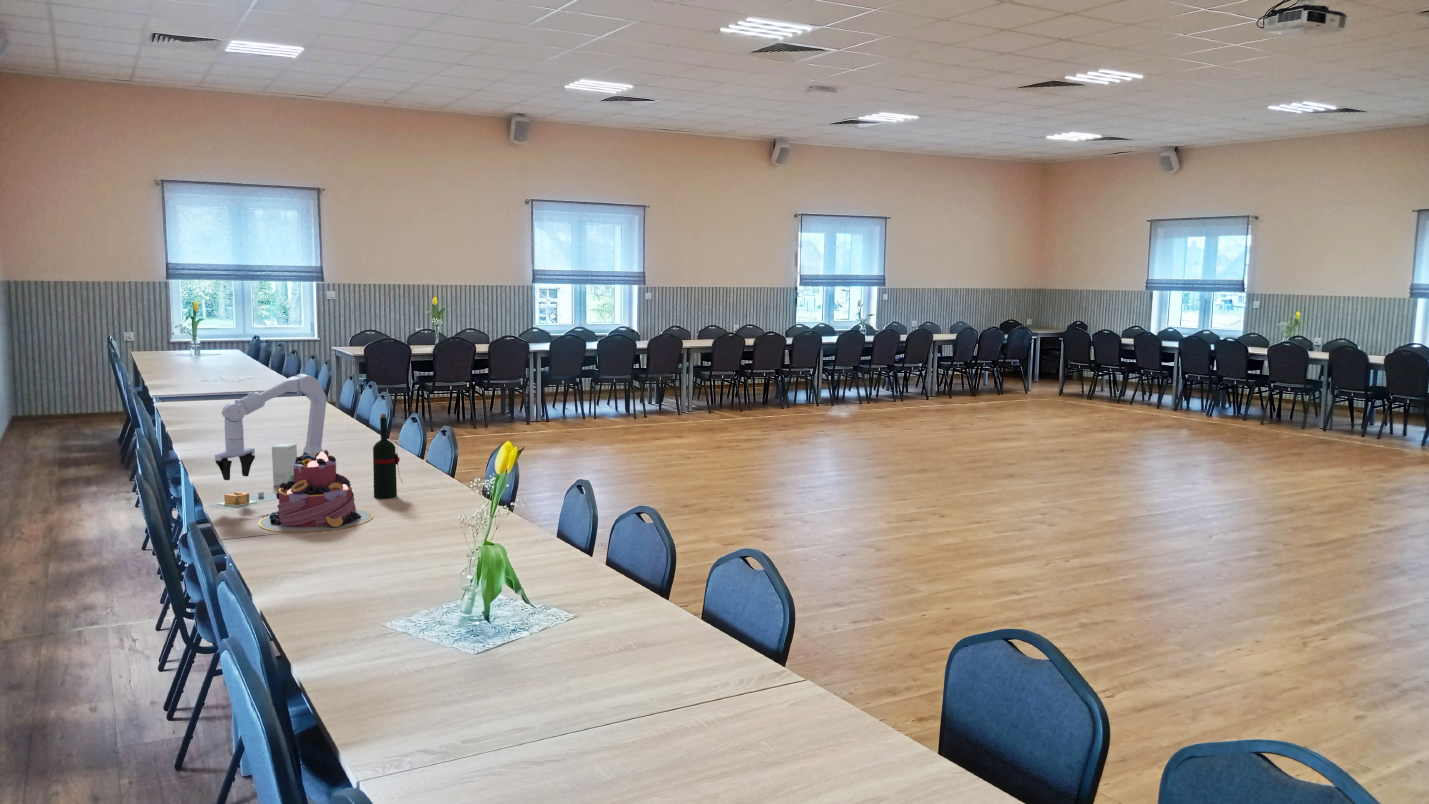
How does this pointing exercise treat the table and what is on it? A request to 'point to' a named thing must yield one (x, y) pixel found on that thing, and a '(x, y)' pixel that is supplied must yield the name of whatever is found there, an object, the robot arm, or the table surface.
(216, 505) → the peg board
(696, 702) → the table surface
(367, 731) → the table surface
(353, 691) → the table surface
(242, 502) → the c link
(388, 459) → the wine bottle
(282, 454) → the skincare box
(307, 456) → the wedding cake
